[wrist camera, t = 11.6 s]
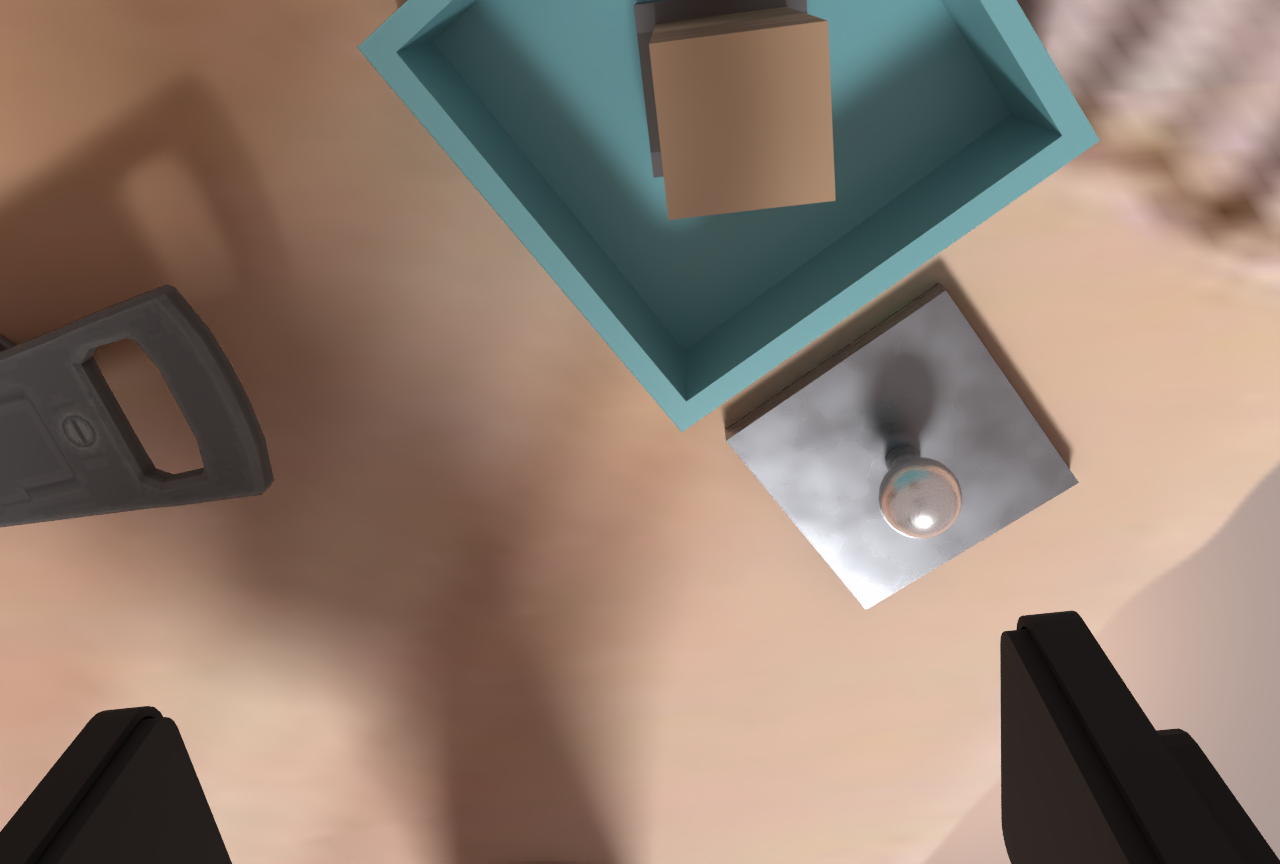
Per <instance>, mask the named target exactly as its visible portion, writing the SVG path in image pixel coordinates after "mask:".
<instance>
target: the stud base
mask: <svg viewBox="0 0 1280 864" xmlns="http://www.w3.org/2000/svg"><path fill="white" fill-rule="evenodd" d="M725 435H726V441H727V443H728V444H729V445H730V446H731V447H732V449H733V450H734V451H735V452H736V453H737V455H738V456H739V457H740V458H741V459H742V461H743V462H744V463H745V464H746V466H747V467H748V468H749V469H750V470H751V472H752V473H753V474H754V475H755V476H756V478H757V479H758V480H759V481H760V482H761V484H762V485H763V486H764V487H765V488H766V490H767V491H768V492H769V493H770V495H771V496H772V497H773V498H774V499H775V501H776V502H777V503H778V504H779V505H780V507H781V508H782V509H783V510H784V511H785V513H786V514H787V515H788V516H789V517H790V519H791V520H792V521H793V522H794V524H795V525H796V526H797V527H798V528H799V530H800V531H801V532H802V533H803V534H804V536H805V537H806V538H807V539H808V540H809V542H810V543H811V544H812V545H813V546H814V548H815V549H816V550H817V551H818V553H819V554H820V555H821V556H822V557H823V559H824V560H825V561H826V562H827V563H828V565H829V566H830V567H831V568H832V569H833V571H834V572H835V573H836V574H837V575H838V577H839V578H840V579H841V580H842V582H843V583H844V584H845V585H846V586H847V588H848V589H849V590H850V591H851V592H852V594H853V595H854V596H855V597H856V598H857V600H858V601H859V602H860V603H861V604H862V606H863V607H864V608H865V609H866V610H867V609H868V608H870V607H872V606H873V605H875V604H877V603H878V602H880V601H882V600H883V599H885V598H887V597H888V596H890V595H892V594H893V593H895V592H897V591H898V590H900V589H902V588H903V587H905V586H907V585H908V584H910V583H912V582H913V581H915V580H917V579H918V578H920V577H922V576H923V575H925V574H927V573H929V572H930V571H932V570H934V569H935V568H937V567H939V566H940V565H942V564H944V563H945V562H947V561H949V560H950V559H952V558H954V557H955V556H957V555H959V554H960V553H962V552H964V551H965V550H967V549H969V548H970V547H972V546H974V545H975V544H977V543H979V542H980V541H982V540H984V539H985V538H987V537H989V536H990V535H992V534H994V533H995V532H997V531H999V530H1000V529H1002V528H1004V527H1005V526H1007V525H1009V524H1010V523H1012V522H1014V521H1015V520H1017V519H1019V518H1020V517H1022V516H1024V515H1025V514H1027V513H1029V512H1031V511H1032V510H1034V509H1036V508H1037V507H1039V506H1041V505H1042V504H1044V503H1046V502H1047V501H1049V500H1051V499H1052V498H1054V497H1056V496H1057V495H1059V494H1061V493H1062V492H1064V491H1066V490H1067V489H1069V488H1071V487H1072V486H1074V485H1076V484H1077V483H1079V482H1078V481H1077V479H1076V478H1075V476H1074V475H1073V474H1072V472H1071V471H1070V469H1069V468H1068V466H1067V465H1066V463H1065V462H1064V460H1063V459H1062V458H1061V456H1060V455H1059V453H1058V452H1057V450H1056V449H1055V447H1054V446H1053V445H1052V443H1051V442H1050V440H1049V439H1048V437H1047V436H1046V434H1045V433H1044V432H1043V430H1042V429H1041V427H1040V426H1039V424H1038V423H1037V421H1036V420H1035V419H1034V417H1033V416H1032V414H1031V413H1030V411H1029V410H1028V408H1027V407H1026V405H1025V404H1024V403H1023V401H1022V400H1021V398H1020V397H1019V395H1018V394H1017V392H1016V391H1015V390H1014V388H1013V387H1012V385H1011V384H1010V382H1009V381H1008V379H1007V378H1006V377H1005V375H1004V374H1003V372H1002V371H1001V369H1000V368H999V366H998V365H997V363H996V362H995V361H994V359H993V358H992V356H991V355H990V353H989V352H988V350H987V349H986V348H985V346H984V345H983V343H982V342H981V340H980V339H979V337H978V336H977V335H976V333H975V332H974V330H973V329H972V327H971V326H970V324H969V323H968V321H967V320H966V319H965V317H964V316H963V314H962V313H961V311H960V310H959V308H958V307H957V306H956V304H955V303H954V301H953V300H952V298H951V297H950V295H949V294H948V293H947V291H946V290H945V289H944V287H943V286H942V285H941V284H940V283H938V284H937V285H936V286H934V287H933V288H931V289H930V290H928V291H927V292H925V293H924V294H922V295H921V296H920V297H918V298H917V299H915V300H914V301H912V302H911V303H909V304H908V305H907V306H905V307H904V308H902V309H901V310H899V311H898V312H896V313H895V314H893V315H892V316H891V317H889V318H888V319H886V320H885V321H883V322H882V323H880V324H879V325H877V326H876V327H875V328H873V329H872V330H870V331H869V332H867V333H866V334H864V335H863V336H861V337H860V338H859V339H857V340H856V341H854V342H853V343H851V344H850V345H848V346H847V347H845V348H844V349H843V350H841V351H840V352H838V353H837V354H835V355H834V356H832V357H831V358H829V359H828V360H827V361H825V362H824V363H822V364H821V365H819V366H818V367H816V368H815V369H813V370H812V371H811V372H809V373H808V374H806V375H805V376H803V377H802V378H800V379H799V380H797V381H796V382H795V383H793V384H792V385H790V386H789V387H787V388H786V389H784V390H783V391H782V392H780V393H779V394H777V395H776V396H774V397H773V398H771V399H770V400H768V401H767V402H766V403H764V404H763V405H761V406H760V407H758V408H757V409H755V410H754V411H752V412H751V413H750V414H748V415H747V416H745V417H744V418H742V419H741V420H739V421H738V422H736V423H735V424H734V425H732V426H731V427H729V428H728V429H726V430H725Z"/></svg>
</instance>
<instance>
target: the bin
mask: <svg viewBox="0 0 1280 864" xmlns="http://www.w3.org/2000/svg"><path fill="white" fill-rule="evenodd" d="M643 1H651V0H407V1H406V2H405V3H404V4H403V5H402V6H401V7H400V8H399V9H398V10H397V11H396V12H395V13H393V14H392V15H391V16H390V17H389V18H388V19H387V20H386V21H385V22H384V23H383V24H382V25H381V26H380V27H378V28H377V29H376V30H375V31H374V32H373V33H372V34H371V35H370V36H369V37H368V38H367V39H366V40H365V41H364V42H362V43H361V44H360V45H359V46H358V47H357V48H358V49H359V50H360V51H361V52H362V54H363V55H364V56H365V57H366V58H367V60H368V61H369V62H370V63H371V64H372V66H373V67H374V68H375V69H376V70H377V71H378V73H379V74H380V75H381V76H382V77H383V79H384V80H385V81H386V82H387V83H388V84H389V86H390V87H391V88H392V89H393V90H394V92H395V93H396V94H397V95H398V96H399V98H400V99H401V100H402V101H403V102H404V103H405V105H406V106H407V107H408V108H409V109H410V111H411V112H412V113H413V114H414V115H415V117H416V118H417V119H418V120H419V121H420V122H421V124H422V125H423V126H424V127H425V128H426V130H427V131H428V132H429V133H430V134H431V135H432V137H433V138H434V139H435V140H436V141H437V143H438V144H439V145H440V146H441V147H442V149H443V150H444V151H445V152H446V153H447V154H448V156H449V157H450V158H451V159H452V160H453V162H454V163H455V164H456V165H457V166H458V168H459V169H460V170H461V171H462V172H463V173H464V175H465V176H466V177H467V178H468V179H469V181H470V182H471V183H472V184H473V185H474V186H475V188H476V189H477V190H478V191H479V192H480V194H481V195H482V196H483V197H484V198H485V200H486V201H487V202H488V203H489V204H490V205H491V207H492V208H493V209H494V210H495V211H496V213H497V214H498V215H499V216H500V217H501V219H502V220H503V221H504V222H505V223H506V224H507V226H508V227H509V228H510V229H511V230H512V232H513V233H514V234H515V235H516V236H517V237H518V239H519V240H520V241H521V242H522V243H523V245H524V246H525V247H526V248H527V249H528V251H529V252H530V253H531V254H532V255H533V256H534V258H535V259H536V260H537V261H538V262H539V264H540V265H541V266H542V267H543V268H544V270H545V271H546V272H547V273H548V274H549V275H550V277H551V278H552V279H553V280H554V281H555V283H556V284H557V285H558V286H559V287H560V288H561V290H562V291H563V292H564V293H565V294H566V296H567V297H568V298H569V299H570V300H571V302H572V303H573V304H574V305H575V306H576V307H577V309H578V310H579V311H580V312H581V313H582V315H583V316H584V317H585V318H586V319H587V320H588V322H589V323H590V324H591V325H592V326H593V328H594V329H595V330H596V331H597V332H598V334H599V335H600V336H601V337H602V338H603V339H604V341H605V342H606V343H607V344H608V345H609V347H610V348H611V349H612V350H613V351H614V353H615V354H616V355H617V356H618V357H619V358H620V360H621V361H622V362H623V363H624V364H625V366H626V367H627V368H628V369H629V370H630V371H631V373H632V374H633V375H634V376H635V377H636V379H637V380H638V381H639V382H640V383H641V385H642V386H643V387H644V388H645V389H646V390H647V392H648V393H649V394H650V395H651V396H652V398H653V399H654V400H655V401H656V402H657V404H658V405H659V406H660V407H661V408H662V409H663V411H664V412H665V413H666V414H667V415H668V417H669V418H670V419H671V420H672V421H673V422H674V424H675V425H676V426H677V427H678V428H679V430H680V431H681V432H683V431H684V430H686V429H687V428H689V427H690V426H691V425H693V424H694V423H696V422H697V421H699V420H700V419H701V418H703V417H704V416H706V415H707V414H709V413H710V412H712V411H713V410H714V409H716V408H717V407H719V406H720V405H722V404H723V403H724V402H726V401H727V400H729V399H730V398H732V397H733V396H734V395H736V394H737V393H739V392H740V391H742V390H743V389H744V388H746V387H747V386H749V385H750V384H752V383H753V382H755V381H756V380H757V379H759V378H760V377H762V376H763V375H765V374H766V373H767V372H769V371H770V370H772V369H773V368H775V367H776V366H777V365H779V364H780V363H782V362H783V361H785V360H786V359H787V358H789V357H790V356H792V355H793V354H795V353H796V352H798V351H799V350H800V349H802V348H803V347H805V346H806V345H808V344H809V343H810V342H812V341H813V340H815V339H816V338H818V337H819V336H820V335H822V334H823V333H825V332H826V331H828V330H829V329H830V328H832V327H833V326H835V325H836V324H838V323H839V322H841V321H842V320H843V319H845V318H846V317H848V316H849V315H851V314H852V313H853V312H855V311H856V310H858V309H859V308H861V307H862V306H863V305H865V304H866V303H868V302H869V301H871V300H872V299H873V298H875V297H876V296H878V295H879V294H881V293H882V292H884V291H885V290H886V289H888V288H889V287H891V286H892V285H894V284H895V283H896V282H898V281H899V280H901V279H902V278H904V277H905V276H906V275H908V274H909V273H911V272H912V271H914V270H915V269H916V268H918V267H919V266H921V265H922V264H924V263H925V262H927V261H928V260H929V259H931V258H932V257H934V256H935V255H937V254H938V253H939V252H941V251H942V250H944V249H945V248H947V247H948V246H949V245H951V244H952V243H954V242H955V241H957V240H958V239H959V238H961V237H962V236H964V235H965V234H967V233H968V232H970V231H971V230H972V229H974V228H975V227H977V226H978V225H980V224H981V223H982V222H984V221H985V220H987V219H988V218H990V217H991V216H992V215H994V214H995V213H997V212H998V211H1000V210H1001V209H1002V208H1004V207H1005V206H1007V205H1008V204H1010V203H1011V202H1013V201H1014V200H1015V199H1017V198H1018V197H1020V196H1021V195H1023V194H1024V193H1025V192H1027V191H1028V190H1030V189H1031V188H1033V187H1034V186H1035V185H1037V184H1038V183H1040V182H1041V181H1043V180H1044V179H1045V178H1047V177H1048V176H1050V175H1051V174H1053V173H1054V172H1056V171H1057V170H1058V169H1060V168H1061V167H1063V166H1064V165H1066V164H1067V163H1068V162H1070V161H1071V160H1073V159H1074V158H1076V157H1077V156H1078V155H1080V154H1081V153H1083V152H1084V151H1086V150H1087V149H1088V148H1090V147H1091V146H1093V145H1094V144H1096V143H1097V142H1099V141H1100V140H1099V138H1098V137H1097V135H1096V133H1095V131H1094V130H1093V128H1092V126H1091V125H1090V123H1089V121H1088V120H1087V118H1086V116H1085V115H1084V113H1083V111H1082V110H1081V108H1080V106H1079V105H1078V103H1077V101H1076V99H1075V98H1074V96H1073V94H1072V93H1071V91H1070V89H1069V88H1068V86H1067V84H1066V83H1065V81H1064V79H1063V78H1062V76H1061V74H1060V73H1059V71H1058V69H1057V67H1056V66H1055V64H1054V62H1053V61H1052V59H1051V57H1050V56H1049V54H1048V52H1047V51H1046V49H1045V47H1044V46H1043V44H1042V42H1041V41H1040V39H1039V37H1038V36H1037V34H1036V32H1035V30H1034V29H1033V27H1032V25H1031V24H1030V22H1029V20H1028V19H1027V17H1026V15H1025V14H1024V12H1023V10H1022V9H1021V7H1020V5H1019V4H1018V2H1017V0H807V14H810V15H812V16H815V17H818V18H821V19H824V20H827V21H828V35H829V58H830V81H831V104H832V127H833V151H834V174H835V197H836V201H828V202H820V203H811V204H802V205H794V206H785V207H776V208H768V209H759V210H750V211H742V212H733V213H724V214H716V215H707V216H698V217H690V218H681V219H672V220H668V211H667V202H666V193H665V184H664V177H656V178H653V169H652V160H651V152H650V143H649V134H648V126H647V117H646V108H645V100H644V91H643V82H642V74H641V65H640V57H639V48H638V39H637V31H636V22H635V13H634V5H635V4H636V3H637V2H643Z"/></svg>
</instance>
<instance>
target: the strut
mask: <svg viewBox="0 0 1280 864" xmlns="http://www.w3.org/2000/svg"><path fill="white" fill-rule="evenodd" d="M634 13H635V22H636V31H637V39H638V48H639V57H640V65H641V74H642V82H643V91H644V100H645V108H646V117H647V126H648V134H649V143H650V152H651V160H652V169H653V178H656V177H664V184H665V193H666V202H667V211H668V220H672V219H681V218H690V217H698V216H707V215H716V214H724V213H733V212H742V211H750V210H759V209H768V208H776V207H785V206H794V205H802V204H811V203H820V202H828V201H836V197H835V174H834V151H833V127H832V104H831V81H830V58H829V35H828V21H827V20H824V19H821V18H818V17H815V16H812V15H810V14H807V0H651V1H643V2H637V3H636V4H635V5H634Z"/></svg>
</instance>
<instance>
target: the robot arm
mask: <svg viewBox="0 0 1280 864" xmlns="http://www.w3.org/2000/svg"><path fill="white" fill-rule="evenodd" d="M1000 645H1001V806H1002V830H1003V836H1004V841H1005V845H1006V849H1007V853H1008V856H1009V859H1010V861H1011V864H1280V860H1279V859H1278V857H1277V856H1276V855H1275V853H1274V852H1273V851H1272V849H1271V848H1270V846H1269V845H1268V843H1267V842H1266V840H1265V839H1264V838H1263V836H1262V835H1261V833H1260V832H1259V831H1258V829H1257V828H1256V826H1255V825H1254V823H1253V822H1252V821H1251V819H1250V818H1249V816H1248V815H1247V814H1246V812H1245V811H1244V809H1243V808H1242V806H1241V805H1240V804H1239V803H1238V801H1237V800H1236V798H1235V796H1234V795H1233V794H1232V792H1231V791H1230V790H1229V788H1228V786H1227V785H1226V784H1225V783H1224V781H1223V779H1222V778H1221V777H1220V775H1219V774H1218V772H1217V771H1216V769H1215V768H1214V767H1213V765H1212V764H1211V763H1210V761H1209V760H1208V758H1207V757H1206V755H1205V754H1204V753H1203V751H1202V750H1201V748H1200V747H1199V745H1198V744H1197V743H1196V742H1195V741H1194V739H1193V738H1192V737H1191V736H1190V735H1189V734H1188V733H1187V732H1185V731H1183V730H1181V729H1169V730H1158V731H1156V730H1155V729H1154V727H1153V725H1152V724H1151V722H1150V721H1149V719H1148V718H1147V716H1146V715H1145V713H1144V712H1143V710H1142V709H1141V707H1140V706H1139V704H1138V703H1137V701H1136V700H1135V698H1134V697H1133V695H1132V694H1131V692H1130V691H1129V689H1128V688H1127V686H1126V685H1125V683H1124V682H1123V680H1122V679H1121V677H1120V676H1119V674H1118V673H1117V671H1116V670H1115V668H1114V666H1113V665H1112V663H1111V662H1110V661H1109V659H1108V657H1107V656H1106V654H1105V653H1104V651H1103V650H1102V648H1101V647H1100V645H1099V644H1098V642H1097V641H1096V639H1095V638H1094V636H1093V635H1092V633H1091V632H1090V630H1089V629H1088V627H1087V626H1086V624H1085V622H1084V621H1083V619H1082V618H1081V617H1080V616H1079V614H1078V613H1077V612H1075V611H1065V612H1055V613H1045V614H1035V615H1026V616H1021V617H1020V618H1019V620H1018V623H1017V630H1014V631H1004V632H1003V633H1002V635H1001V644H1000ZM0 864H232V862H231V860H230V857H229V855H228V852H227V850H226V847H225V845H224V842H223V840H222V837H221V835H220V832H219V830H218V827H217V825H216V822H215V820H214V817H213V815H212V812H211V810H210V807H209V805H208V802H207V800H206V797H205V795H204V792H203V790H202V787H201V785H200V782H199V780H198V777H197V775H196V772H195V770H194V767H193V765H192V762H191V760H190V757H189V755H188V752H187V750H186V747H185V745H184V742H183V740H182V737H181V735H180V732H179V730H178V727H177V725H176V724H175V722H174V721H173V720H172V719H171V718H167V717H163V716H162V714H161V712H160V711H158V710H157V709H156V708H155V707H150V706H145V707H135V708H125V709H116V710H106V711H102V712H99V713H97V714H96V715H95V716H94V717H93V718H92V719H91V720H90V721H89V722H88V723H87V725H86V726H85V727H84V728H83V730H82V731H81V732H80V733H79V735H78V736H77V737H76V738H75V740H74V741H73V742H72V743H71V745H70V746H69V747H68V748H67V750H66V751H65V752H64V753H63V754H62V756H61V757H60V758H59V759H58V761H57V762H56V763H55V764H54V766H53V767H52V768H51V769H50V771H49V772H48V773H47V774H46V776H45V777H44V778H43V779H42V781H41V782H40V783H39V784H38V786H37V787H36V788H35V789H34V791H33V792H32V793H31V794H30V796H29V797H28V798H27V799H26V801H25V802H24V803H23V804H22V806H21V807H20V808H19V809H18V811H17V812H16V813H15V814H14V816H13V817H12V818H11V819H10V821H9V822H8V823H7V824H6V826H5V827H4V828H3V829H2V831H1V832H0Z"/></svg>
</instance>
